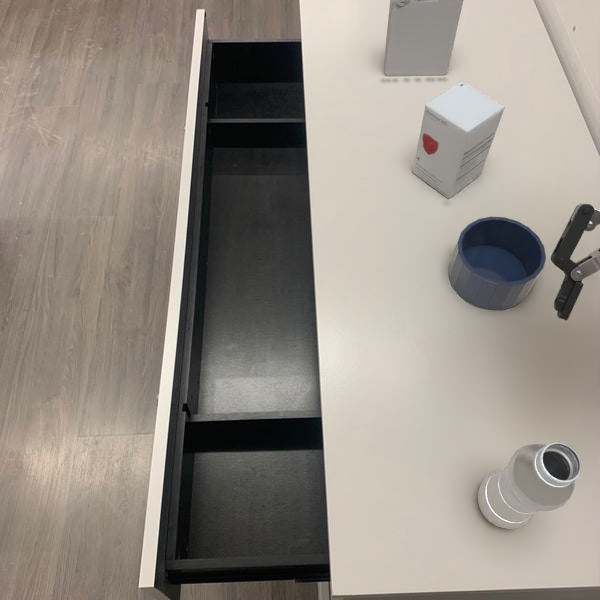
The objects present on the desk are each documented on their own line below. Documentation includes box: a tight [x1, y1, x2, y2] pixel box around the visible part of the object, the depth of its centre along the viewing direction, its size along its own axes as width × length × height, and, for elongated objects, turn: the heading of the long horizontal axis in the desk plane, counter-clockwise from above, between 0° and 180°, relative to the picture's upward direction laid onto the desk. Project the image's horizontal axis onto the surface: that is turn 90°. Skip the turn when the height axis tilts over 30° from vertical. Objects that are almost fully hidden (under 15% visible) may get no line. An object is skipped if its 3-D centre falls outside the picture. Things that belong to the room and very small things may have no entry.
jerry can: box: [383, 0, 464, 77], centre depth 100 cm, size 15×5×25 cm, turn 88°
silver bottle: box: [477, 441, 582, 530], centre depth 57 cm, size 6×7×20 cm
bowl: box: [448, 216, 547, 311], centre depth 80 cm, size 12×12×7 cm
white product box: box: [412, 80, 506, 199], centre depth 89 cm, size 9×9×15 cm
